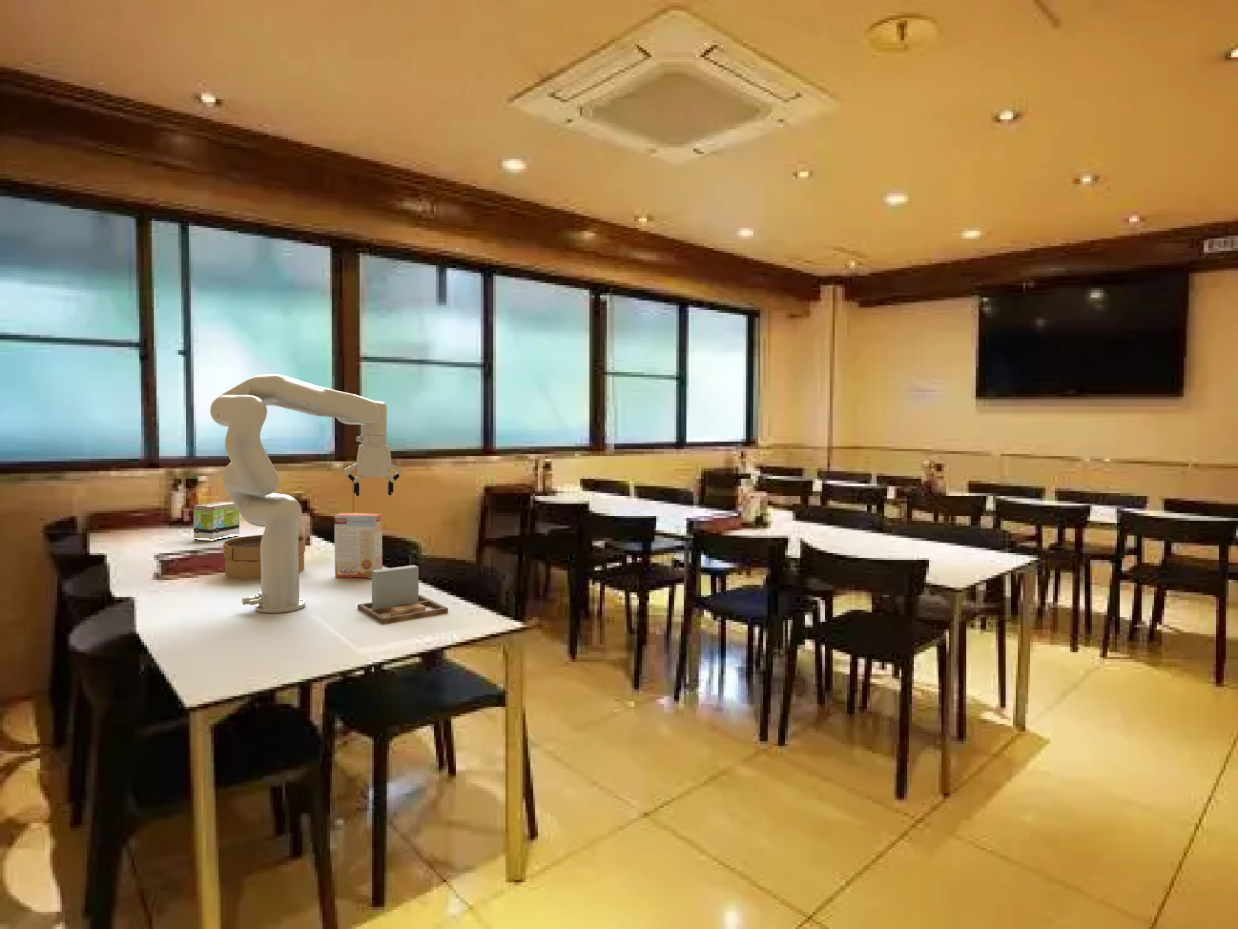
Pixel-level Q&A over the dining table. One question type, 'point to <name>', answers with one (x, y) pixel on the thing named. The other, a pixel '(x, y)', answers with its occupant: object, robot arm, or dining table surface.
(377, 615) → the frame
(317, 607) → the dining table surface
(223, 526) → the tea box
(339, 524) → the cracker box
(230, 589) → the dining table surface
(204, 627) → the dining table surface
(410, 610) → the upper offcut
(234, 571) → the steamer basket
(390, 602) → the grey panel
